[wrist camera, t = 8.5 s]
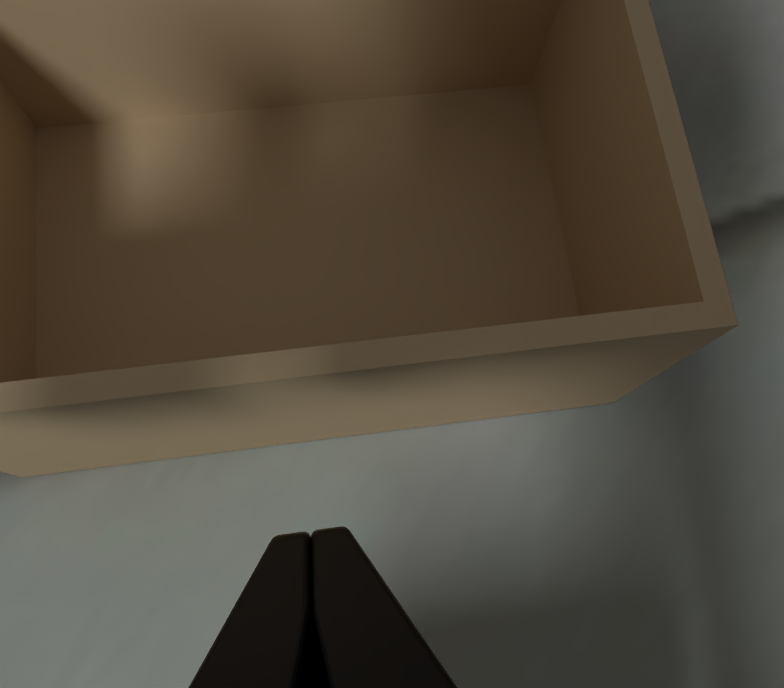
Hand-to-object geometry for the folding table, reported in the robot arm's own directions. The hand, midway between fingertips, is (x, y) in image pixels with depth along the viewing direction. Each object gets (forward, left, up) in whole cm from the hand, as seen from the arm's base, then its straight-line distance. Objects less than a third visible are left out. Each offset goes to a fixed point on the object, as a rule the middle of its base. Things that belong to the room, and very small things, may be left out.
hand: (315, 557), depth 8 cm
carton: (+7, -6, -14) cm, 17 cm away
